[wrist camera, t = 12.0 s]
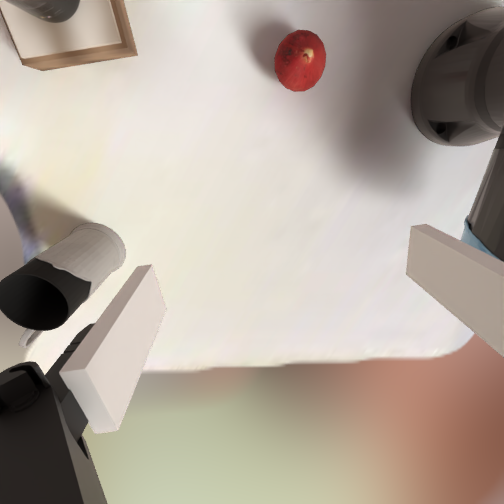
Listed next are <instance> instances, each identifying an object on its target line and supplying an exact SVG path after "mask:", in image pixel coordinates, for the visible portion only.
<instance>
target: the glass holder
mask: <svg viewBox="0 0 504 504" xmlns="http://www.w3.org/2000/svg"><path fill="white" fill-rule="evenodd" d="M125 257H126V249H125V245H124V243H123V241H122V240H121V238H120V237H119V236H118V234H117V233H115V232H114V231H113V230H112V229H110V228H108V227H106V226H104V225H101V224H96V223H86V224H82V225H80V226H78V227H76V228H75V229H74V230H73V231H72V232H71V234H70V236H68V237H66V238H65V239H63V240H61V241H60V242H58V243H57V244H55V245H53V246H52V247H50V248H49V249H47V250H45V251H44V252H42V253H41V254H39V255H37V256H36V257H34V258H33V259H31V260H30V261H29V262H28V263H27V264H26V265H24V266H23V267H21V268H20V269H18V270H17V271H15V272H13V273H12V274H10V275H9V276H7V277H6V278H4V279H3V280H1V282H0V310H1V311H2V312H3V313H4V314H5V315H6V316H7V317H8V318H9V319H10V320H11V321H13V322H14V323H16V324H18V325H20V326H22V327H25V328H27V329H26V331H25V333H24V334H23V336H22V337H21V339H20V342H19V346H21V347H24V348H26V347H28V346H29V345H30V344H31V343H33V342H34V341H35V340H36V338H37V337H38V336H39V335H40V334H41V333H42V332H43V331H48V330H53V329H56V328H58V327H60V326H61V325H63V324H64V323H65V322H66V321H67V319H68V318H69V317H70V316H71V315H72V314H73V313H74V312H75V311H76V309H77V308H78V307H79V306H80V305H81V304H82V303H84V302H85V301H86V300H87V299H88V298H89V297H90V296H91V295H92V294H93V293H94V292H95V290H96V289H97V288H98V287H99V286H100V285H101V284H102V283H103V281H104V280H105V279H106V278H107V277H108V276H109V275H110V274H111V272H113V271H116V270H117V269H119V268H120V267H121V266H122V264H123V263H124V260H125ZM34 330H36V331H35V332H34V334H33V335H32V336H31V337H30V335H31V334H32V332H33V331H34ZM29 337H30V338H29ZM28 338H29V339H28Z"/></svg>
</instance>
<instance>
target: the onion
mask: <svg viewBox="0 0 504 504" xmlns="http://www.w3.org/2000/svg"><path fill="white" fill-rule="evenodd" d="M325 62H326V52H325V48H324V44H323V42H322V41H321V39H320V38H319V37H318V36H317V35H316V34H314V33H312V32H311V31H308V30H297V31H295V32H293V33H291V34H289V35H288V36H287V37H286V38H285V39H284V40H283V41H282V42H281V43H280V44H279V46H278V49H277V52H276V55H275V72H276V74H277V77H278V79H279V81H280V82H281V83H282V84H283V85H284V86H285V87H286V88H287V89H290V90H292V91H295V92H296V91H306V90H308V89H309V88H311V87H313V86H314V85H315V84H316V83H317V81H318V80H319V79H320V78H321V75H322V73H323V70H324V68H325Z"/></svg>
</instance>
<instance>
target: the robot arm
mask: <svg viewBox="0 0 504 504" xmlns="http://www.w3.org/2000/svg"><path fill="white" fill-rule="evenodd" d="M411 107H412V113H413V117H414V120H415V123H416V125H417V127H418V128H419V130H420V131H421V132H422V134H423V135H424V136H425V137H427V138H428V139H429V140H431V141H433V142H435V143H437V144H440V145H446V146H470V145H475V144H479V143H482V142H485V141H487V140H490V139H493V138H496V137H499V138H498V141H497V143H496V146H495V149H494V150H493V153H492V156H491V158H490V161H489V164H488V166H487V169H486V172H485V174H484V177H483V180H482V182H481V185H480V188H479V190H478V193H477V196H476V198H475V201H474V204H473V206H472V209H471V211H470V214H469V215H468V216H467V217H466V219H465V222H464V225H465V228H464V231H463V235H462V238H461V241H460V240H458V239H456V238H454V237H452V236H450V235H448V234H446V233H444V232H442V231H440V230H438V229H435V228H433V227H431V226H429V225H427V224H422V225H416V226H411V230H410V240H409V249H408V259H407V268H406V275H407V276H409V277H410V278H411V279H412V280H413V281H414V282H416V283H417V284H418V285H419V286H420V287H422V288H423V289H424V290H425V291H426V292H427V293H429V294H430V295H431V296H432V297H433V298H434V299H436V300H437V301H438V302H439V303H440V304H441V305H443V306H444V307H445V308H446V309H447V310H449V311H450V312H451V313H452V314H453V315H454V316H456V317H457V318H458V319H459V320H460V321H461V322H463V323H464V324H465V325H466V326H467V327H469V328H470V329H471V330H472V331H473V332H474V333H476V334H477V335H478V336H479V337H480V338H481V339H483V340H484V341H485V342H486V343H487V344H489V345H490V346H491V347H492V348H493V349H494V350H496V351H497V352H498V353H499V354H500V355H501V356H503V357H504V7H493V8H489V9H485V10H482V11H479V12H476V13H474V14H472V15H470V16H468V17H466V18H464V19H462V20H460V21H458V22H457V23H455V24H453V25H452V26H450V27H449V28H448V29H447V30H445V31H444V32H443V33H442V34H441V35H440V36H439V37H438V38H437V39H436V40H435V41H434V42H433V44H432V45H431V46H430V48H429V49H428V50H427V52H426V53H425V55H424V57H423V59H422V60H421V62H420V64H419V67H418V69H417V72H416V75H415V78H414V82H413V86H412V93H411ZM166 310H167V308H166V305H165V302H164V299H163V296H162V293H161V290H160V287H159V283H158V280H157V277H156V274H155V271H154V268H153V265H152V264H151V265H145V266H138V267H137V268H136V269H135V270H134V272H133V273H132V275H131V276H130V277H129V279H128V280H127V281H126V283H125V284H124V285H123V287H122V288H121V289H120V291H119V292H118V293H117V295H116V296H115V297H114V299H113V300H112V301H111V303H110V304H109V306H108V307H107V308H106V310H105V311H104V312H103V314H102V315H101V316H100V318H99V319H98V320H97V322H96V323H93V324H89V325H88V326H87V327H85V328H84V329H83V330H82V331H80V332H79V333H78V334H77V335H76V337H75V338H74V339H73V340H72V342H71V343H70V345H68V347H67V348H66V349H65V351H64V354H61V356H60V357H59V358H58V359H57V361H56V362H55V363H54V364H53V366H52V367H51V368H50V370H49V371H48V372H47V373H46V375H44V373H43V372H42V370H41V369H40V367H39V365H38V364H37V363H36V362H24V363H20V364H17V365H15V366H12V367H10V368H8V369H6V370H4V371H3V372H1V373H0V504H107V501H106V498H105V495H104V492H103V489H102V487H101V484H100V481H99V478H98V475H97V472H96V469H95V466H94V464H93V461H92V458H91V455H90V452H89V449H88V446H87V444H86V441H85V439H84V437H83V436H82V433H83V431H84V429H85V427H86V425H87V423H89V425H90V426H91V428H92V430H93V431H94V433H95V434H97V433H105V432H111V431H118V430H119V427H120V425H121V422H122V420H123V417H124V415H125V412H126V410H127V407H128V405H129V402H130V399H131V397H132V395H133V392H134V390H135V387H136V384H137V382H138V380H139V377H140V375H141V372H142V370H143V367H144V365H145V362H146V360H147V357H148V355H149V352H150V350H151V347H152V345H153V342H154V340H155V337H156V335H157V332H158V330H159V327H160V325H161V322H162V320H163V317H164V315H165V312H166Z"/></svg>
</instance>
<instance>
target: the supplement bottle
mask: <svg viewBox="0 0 504 504" xmlns="http://www.w3.org/2000/svg"><path fill="white" fill-rule="evenodd" d="M4 1H6V2H8V3H10V4H12V5H14V6H16V7H18V8H19V9H21V10H23V11H25V12H27V13H29V14H31V15H33V16H35V17H37V18H39V19H41V20H43V21H46V22H50V23H61V22H64V21H67V20H68V19H70V18H71V17H72V16H73V15H74V14H75V12H76V11H77V9H78V6H79V3H80V0H4Z"/></svg>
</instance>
